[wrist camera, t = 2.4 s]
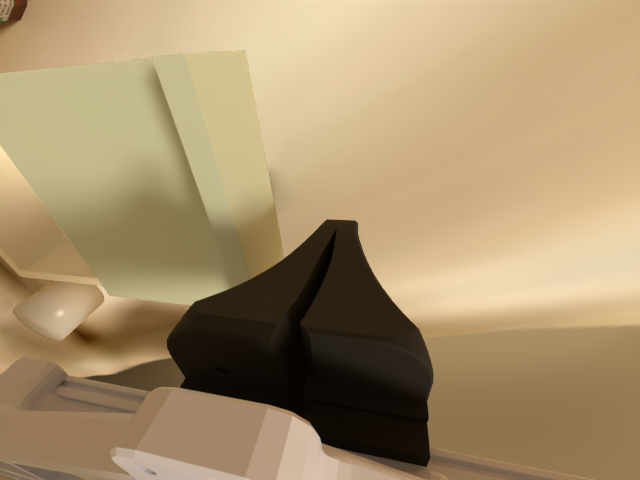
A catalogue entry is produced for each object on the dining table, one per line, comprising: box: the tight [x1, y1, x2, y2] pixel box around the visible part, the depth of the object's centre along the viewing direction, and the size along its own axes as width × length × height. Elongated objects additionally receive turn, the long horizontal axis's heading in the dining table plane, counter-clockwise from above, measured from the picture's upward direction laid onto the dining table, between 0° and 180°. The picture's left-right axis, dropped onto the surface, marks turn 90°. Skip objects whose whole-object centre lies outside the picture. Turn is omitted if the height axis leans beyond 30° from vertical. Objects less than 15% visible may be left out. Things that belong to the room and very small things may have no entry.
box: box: [0, 145, 102, 286], centre depth 20 cm, size 14×14×5 cm
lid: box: [0, 50, 285, 305], centre depth 14 cm, size 14×14×4 cm
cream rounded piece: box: [13, 281, 104, 340], centre depth 30 cm, size 5×5×5 cm
